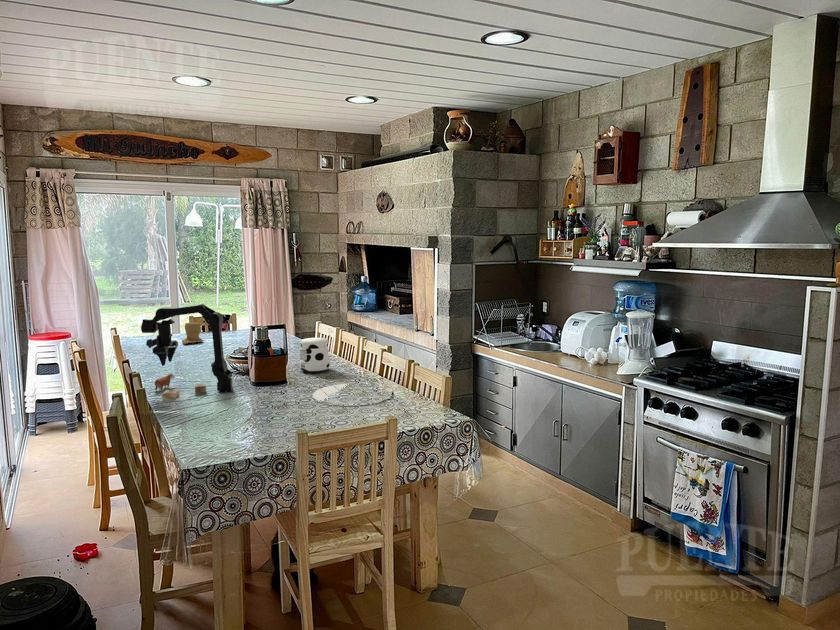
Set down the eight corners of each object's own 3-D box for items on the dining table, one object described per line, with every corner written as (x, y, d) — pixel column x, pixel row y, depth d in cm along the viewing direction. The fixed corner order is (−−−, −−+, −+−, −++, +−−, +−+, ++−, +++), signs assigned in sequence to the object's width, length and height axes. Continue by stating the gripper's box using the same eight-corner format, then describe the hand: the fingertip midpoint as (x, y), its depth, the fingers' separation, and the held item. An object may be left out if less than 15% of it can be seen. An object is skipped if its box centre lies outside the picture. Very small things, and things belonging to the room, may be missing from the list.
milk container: (333, 367, 356) (332, 337, 353) (326, 374, 339) (325, 343, 336) (304, 367, 358) (303, 337, 355) (295, 374, 341) (294, 342, 338)
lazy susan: (377, 382, 324) (377, 375, 324) (407, 400, 289) (407, 393, 289) (303, 390, 307) (303, 384, 307) (325, 411, 272) (325, 404, 272)
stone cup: (198, 340, 443) (197, 320, 440) (205, 342, 434) (204, 322, 432) (177, 343, 432) (176, 322, 430) (184, 345, 424) (183, 324, 422)
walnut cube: (206, 393, 302) (205, 383, 302) (206, 395, 298) (205, 385, 297) (195, 394, 301) (194, 384, 300) (195, 396, 296) (194, 386, 295)
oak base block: (179, 395, 294) (179, 389, 293) (175, 399, 288) (174, 393, 287) (166, 396, 293) (166, 390, 293) (162, 399, 287) (162, 393, 287)
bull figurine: (177, 387, 313) (176, 372, 312) (159, 394, 300) (158, 378, 299) (170, 387, 314) (169, 371, 313) (152, 393, 301) (151, 377, 300)
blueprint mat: (191, 396, 296) (191, 394, 296) (184, 402, 286) (184, 400, 286) (166, 396, 295) (166, 394, 295) (158, 402, 286) (158, 400, 285)
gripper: (155, 329, 309) (157, 359, 311) (140, 336, 290) (142, 368, 292) (177, 329, 309) (179, 359, 311) (164, 336, 291) (166, 367, 293)
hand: (166, 363), depth 302 cm, fingers open, 9 cm apart
